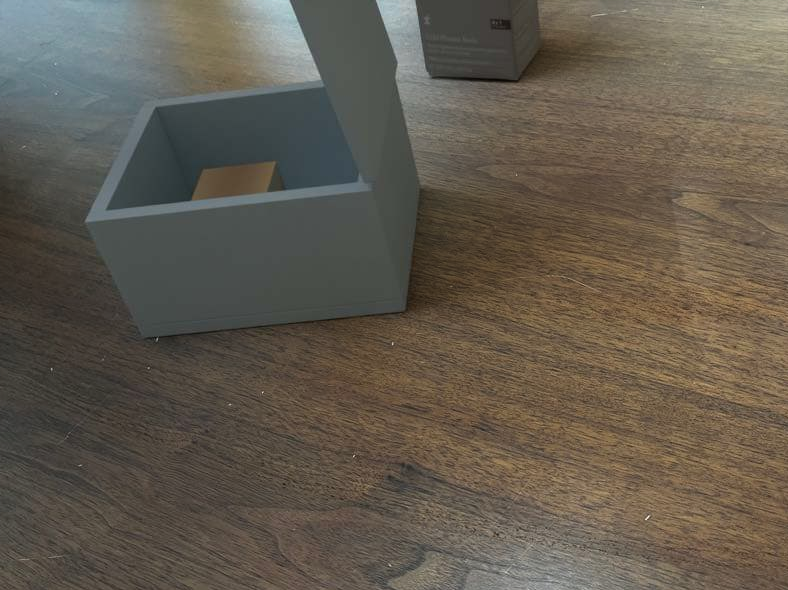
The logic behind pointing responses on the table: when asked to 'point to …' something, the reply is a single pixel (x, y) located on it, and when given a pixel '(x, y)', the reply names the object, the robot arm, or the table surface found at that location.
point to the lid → (353, 71)
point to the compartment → (255, 215)
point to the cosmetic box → (478, 37)
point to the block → (239, 181)
